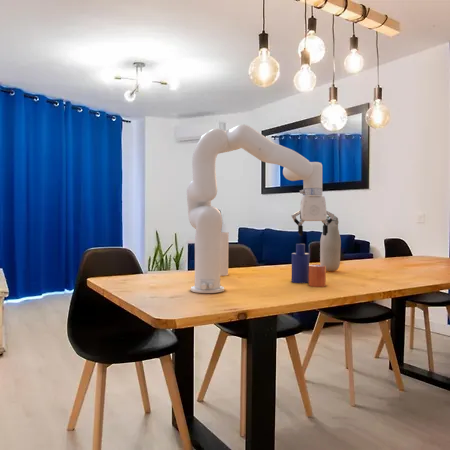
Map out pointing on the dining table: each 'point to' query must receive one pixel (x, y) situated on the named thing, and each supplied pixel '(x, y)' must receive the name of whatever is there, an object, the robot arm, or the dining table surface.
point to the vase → (224, 254)
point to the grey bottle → (330, 246)
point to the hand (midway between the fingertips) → (312, 235)
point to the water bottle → (300, 265)
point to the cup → (317, 275)
